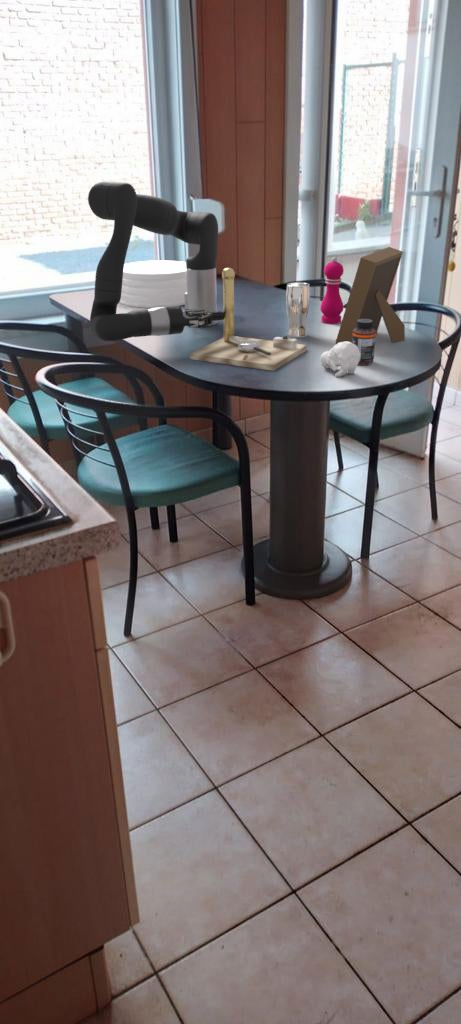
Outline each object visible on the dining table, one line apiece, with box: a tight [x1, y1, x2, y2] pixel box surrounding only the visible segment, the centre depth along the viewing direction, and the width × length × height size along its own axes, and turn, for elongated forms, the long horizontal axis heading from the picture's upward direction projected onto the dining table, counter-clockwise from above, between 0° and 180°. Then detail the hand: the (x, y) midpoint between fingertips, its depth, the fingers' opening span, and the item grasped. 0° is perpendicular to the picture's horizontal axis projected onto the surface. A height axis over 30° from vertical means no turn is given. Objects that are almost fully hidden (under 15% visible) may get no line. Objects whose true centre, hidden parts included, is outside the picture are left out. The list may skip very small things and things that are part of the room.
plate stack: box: [119, 260, 187, 309], centre depth 279 cm, size 28×28×12 cm
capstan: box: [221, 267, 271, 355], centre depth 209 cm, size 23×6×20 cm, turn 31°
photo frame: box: [335, 246, 406, 345], centre depth 220 cm, size 15×22×25 cm
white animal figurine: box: [319, 341, 361, 378], centre depth 197 cm, size 6×8×12 cm
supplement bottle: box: [352, 319, 377, 366], centre depth 204 cm, size 6×6×11 cm
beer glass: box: [285, 281, 311, 339], centre depth 229 cm, size 7×7×15 cm
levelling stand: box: [189, 335, 308, 372], centre depth 213 cm, size 25×22×5 cm
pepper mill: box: [320, 256, 344, 325], centre depth 243 cm, size 7×7×20 cm
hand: (222, 315), depth 218 cm, fingers closed
